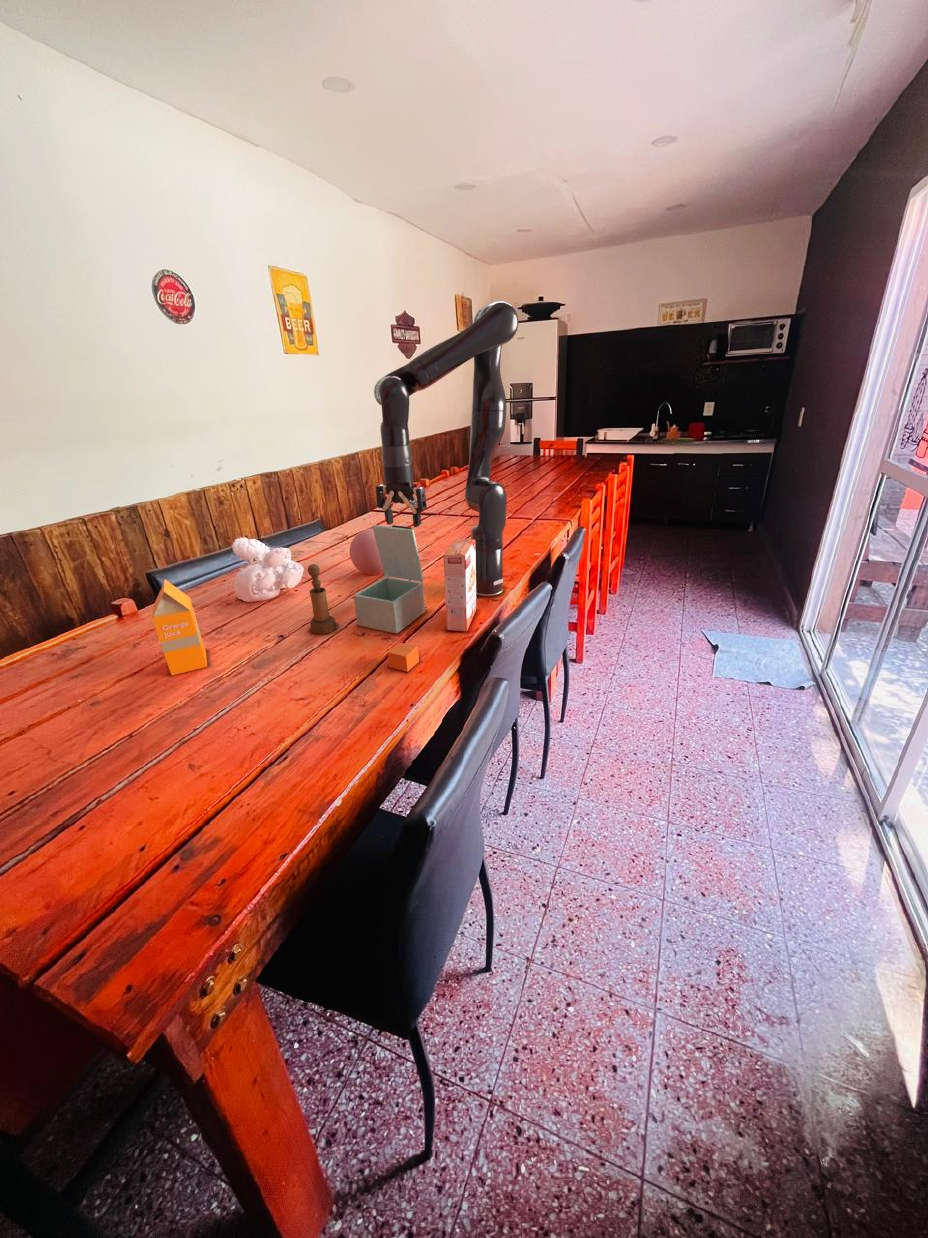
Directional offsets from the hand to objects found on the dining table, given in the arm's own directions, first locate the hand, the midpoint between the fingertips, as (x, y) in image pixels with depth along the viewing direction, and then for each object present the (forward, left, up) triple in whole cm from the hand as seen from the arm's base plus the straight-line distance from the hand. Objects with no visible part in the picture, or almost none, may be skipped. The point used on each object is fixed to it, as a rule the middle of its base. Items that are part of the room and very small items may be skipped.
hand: (403, 525), depth 133 cm
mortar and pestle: (+22, -13, -24) cm, 35 cm away
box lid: (+4, 0, -7) cm, 8 cm away
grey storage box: (+10, 0, -24) cm, 26 cm away
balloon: (-20, -26, -24) cm, 41 cm away
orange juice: (+49, -31, -24) cm, 63 cm away
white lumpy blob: (+8, -46, -24) cm, 53 cm away
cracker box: (+3, +19, -24) cm, 30 cm away
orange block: (+29, +17, -24) cm, 41 cm away
